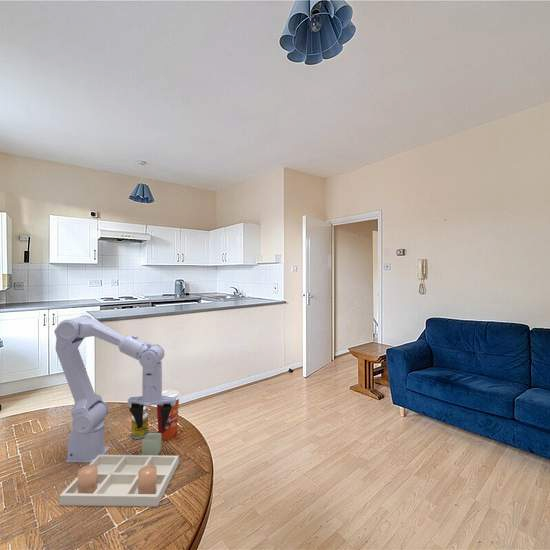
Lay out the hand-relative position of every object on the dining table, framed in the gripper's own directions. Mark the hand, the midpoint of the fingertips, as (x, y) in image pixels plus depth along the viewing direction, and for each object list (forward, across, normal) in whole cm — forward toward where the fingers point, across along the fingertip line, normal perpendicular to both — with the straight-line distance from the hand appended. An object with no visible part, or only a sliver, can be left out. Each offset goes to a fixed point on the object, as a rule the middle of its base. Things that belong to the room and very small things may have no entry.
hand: (152, 427), depth 95 cm
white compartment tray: (+9, -2, -13) cm, 16 cm away
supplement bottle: (+9, -9, +12) cm, 17 cm away
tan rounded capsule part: (+8, +6, -17) cm, 20 cm away
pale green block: (+9, 0, 0) cm, 9 cm away
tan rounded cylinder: (+8, -10, -17) cm, 21 cm away
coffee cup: (+9, +1, +12) cm, 15 cm away
